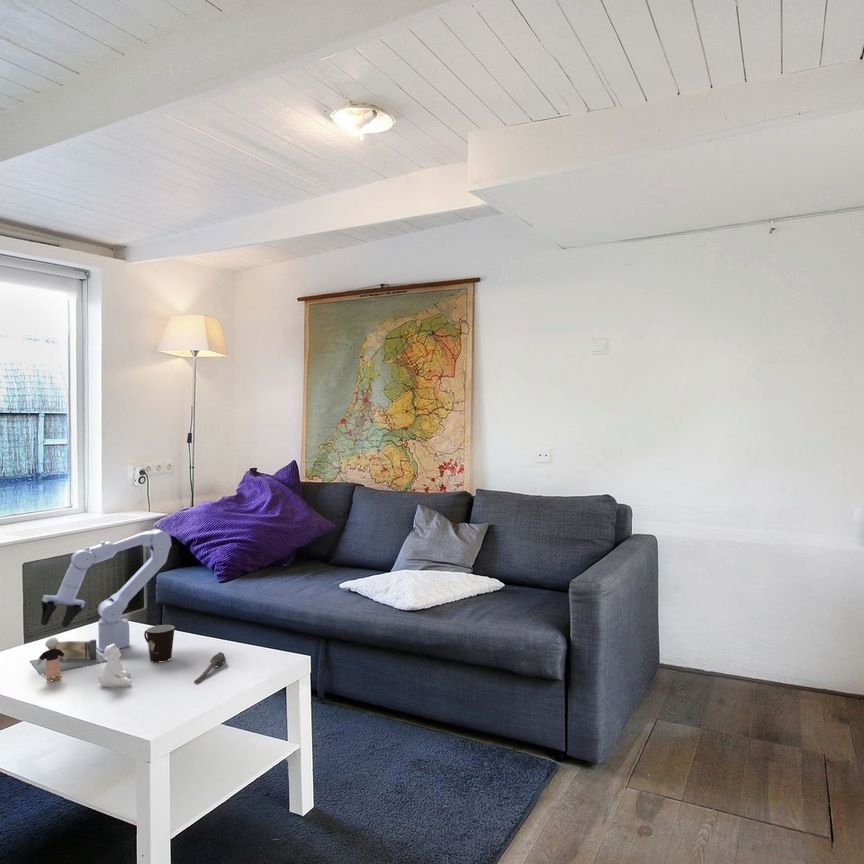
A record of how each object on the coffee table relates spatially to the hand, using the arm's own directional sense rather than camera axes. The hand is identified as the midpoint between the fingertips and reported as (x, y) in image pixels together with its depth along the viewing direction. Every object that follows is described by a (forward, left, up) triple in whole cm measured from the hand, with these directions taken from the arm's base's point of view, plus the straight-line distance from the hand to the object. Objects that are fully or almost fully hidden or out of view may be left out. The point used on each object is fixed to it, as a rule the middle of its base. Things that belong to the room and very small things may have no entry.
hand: (53, 625), depth 226 cm
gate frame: (-3, +8, -10) cm, 14 cm away
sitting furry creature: (-8, +40, -11) cm, 42 cm away
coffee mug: (-26, +25, -11) cm, 37 cm away
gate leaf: (-4, +7, -10) cm, 12 cm away
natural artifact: (-34, +47, -11) cm, 59 cm away
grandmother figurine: (+5, +23, -11) cm, 26 cm away
